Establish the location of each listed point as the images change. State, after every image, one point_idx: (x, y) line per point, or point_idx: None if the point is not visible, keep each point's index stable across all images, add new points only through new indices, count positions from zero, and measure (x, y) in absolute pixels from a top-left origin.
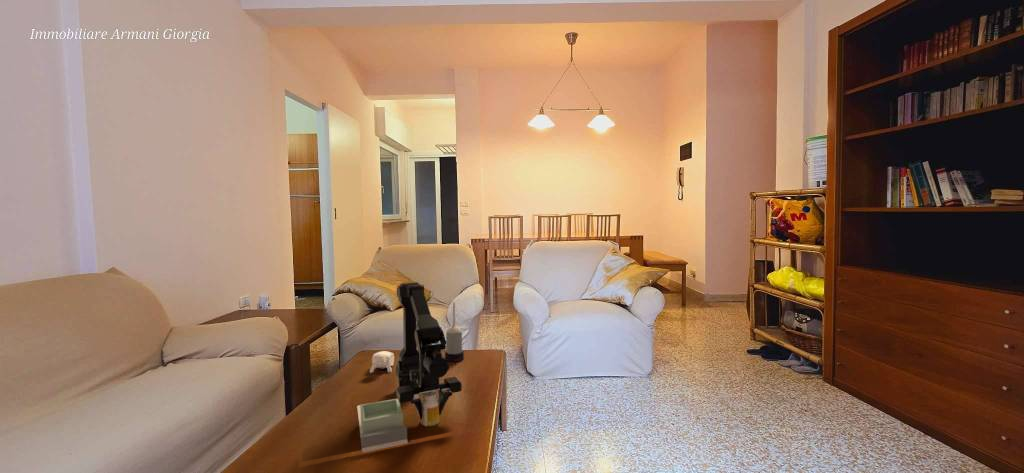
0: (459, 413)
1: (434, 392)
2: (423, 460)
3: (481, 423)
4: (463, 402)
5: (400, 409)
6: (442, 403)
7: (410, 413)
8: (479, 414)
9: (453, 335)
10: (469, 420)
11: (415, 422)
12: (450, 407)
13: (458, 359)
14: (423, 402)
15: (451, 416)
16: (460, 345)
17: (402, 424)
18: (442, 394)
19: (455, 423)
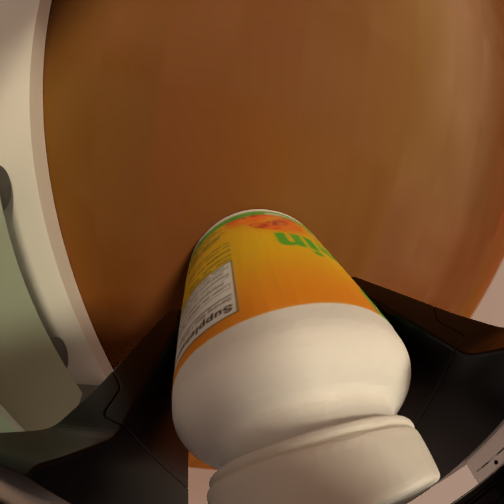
0: (452, 176)
1: (416, 495)
2: (201, 461)
3: (465, 307)
4: (482, 61)
5: (8, 417)
6: (404, 412)
7: (123, 37)
8: (496, 228)
9: None
10: (453, 273)
11: (146, 201)
12: (429, 68)
13: None
14: (211, 465)
15: (411, 194)
16: None
17: (73, 406)
18: (447, 473)
19: (397, 288)
